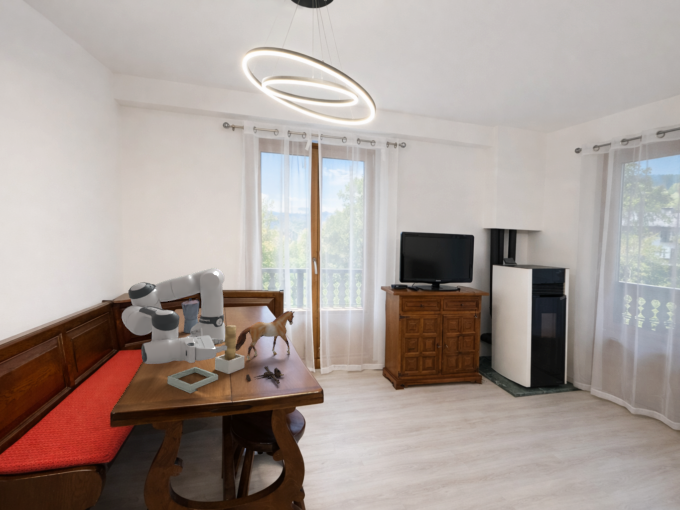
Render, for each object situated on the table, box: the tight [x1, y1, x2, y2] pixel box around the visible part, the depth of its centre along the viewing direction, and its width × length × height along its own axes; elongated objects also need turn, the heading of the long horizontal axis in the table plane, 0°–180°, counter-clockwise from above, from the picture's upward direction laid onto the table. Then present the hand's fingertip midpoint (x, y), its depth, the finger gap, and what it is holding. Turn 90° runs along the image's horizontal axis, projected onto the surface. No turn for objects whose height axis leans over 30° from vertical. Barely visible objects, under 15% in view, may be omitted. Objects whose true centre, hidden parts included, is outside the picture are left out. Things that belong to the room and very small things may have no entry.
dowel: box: [224, 324, 237, 361], centre depth 142 cm, size 4×4×18 cm
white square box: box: [214, 353, 245, 375], centre depth 142 cm, size 8×8×6 cm
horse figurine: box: [236, 310, 295, 361], centre depth 160 cm, size 31×8×21 cm, turn 123°
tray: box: [167, 366, 219, 394], centre depth 130 cm, size 14×12×3 cm
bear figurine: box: [245, 365, 285, 385], centre depth 136 cm, size 18×4×14 cm
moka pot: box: [181, 297, 201, 334], centre depth 199 cm, size 10×15×20 cm, turn 172°
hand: (224, 344), depth 141 cm, fingers open, 8 cm apart
